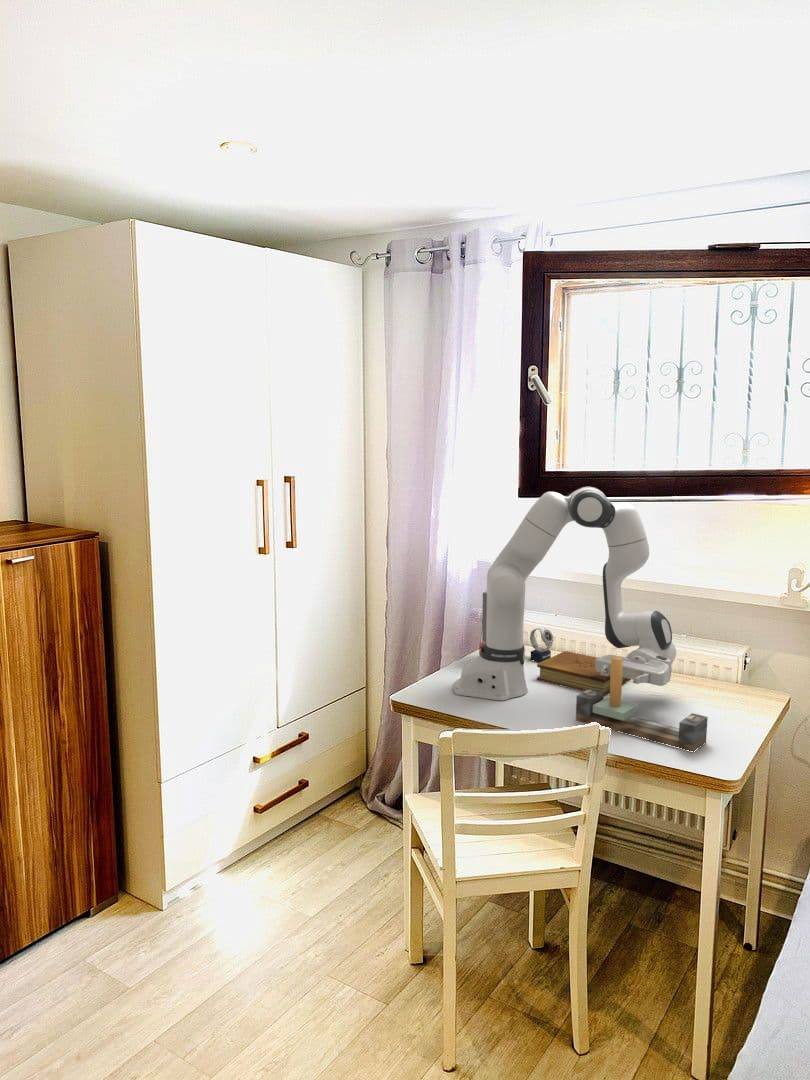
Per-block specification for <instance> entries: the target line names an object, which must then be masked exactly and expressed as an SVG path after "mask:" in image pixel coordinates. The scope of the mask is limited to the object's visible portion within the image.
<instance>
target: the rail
mask: <svg viewBox="0 0 810 1080" xmlns="http://www.w3.org/2000/svg"><path fill="white" fill-rule="evenodd" d="M604 697H605V696H604V691H601V690H597V689H592V688H590V689H588V690H586V691H582V692H581V693H579V694H577V695H576V702H575V704H576V705H575V721H577V722H581V723H584V724H588V723H591V722H597V723H599V724H600V725H601V726H605V727H609V728H611V729H612V730H611V731H613V730H614V731H613V732H617V731H620V732H623V733H622V734H624V733H627V734H631V735H635V736H638V737H641V738H640V739H642V737H643V738H646V739H649V740H652V741H656V742H660V743H664V744H668V745H671V746H675V747H679V748H682V749H685V750H689V751H693V752H694V751H695V750H696V749H697V748H699V747H700V746H702V745H703V744H704V743H705V744H707V734H708V718H709V717H708V716H705V715H701V714H698V713H693V712H692V713H690V714H689V715H688V716H686V717H684V718H683V719H682V720H680V721H679V723H678V726H679V727H675V726H672V725H668V724H664V723H660V722H658V721H657V722H656V721H652V720H649V719H645V718H641V717H637V716H633V715H632V716H630V717H628V718H627V719H625V720H624V721H623V720H619V719H615V718H612V717H608V716H604V715H600V714H597V713H593V705H594V704H596V703H598V702H600V701H601V700H603V699H605V698H604ZM620 732H619V733H620ZM627 734H626V735H627ZM631 735H630V736H631ZM635 736H634V737H635ZM638 737H637V738H638ZM649 740H648V741H649ZM652 741H651V742H652ZM656 742H655V743H656ZM660 743H659V744H660ZM705 744H704V745H705ZM704 745H703V746H704ZM703 746H702V747H703ZM700 748H701V747H700ZM700 748H699V749H700ZM685 750H684V751H685ZM695 752H696V751H695ZM695 752H694V753H695Z"/></svg>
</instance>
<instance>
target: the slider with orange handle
mask: <svg viewBox="0 0 810 1080" xmlns="http://www.w3.org/2000/svg"><path fill="white" fill-rule="evenodd" d="M622 665H623V659H622V658H620V657H612V658H611V676H610V693H609V697H605V698H604V699H603V700H601V701H600V702H598V703H596V704H594V705H593V713H597V714H600V715H604V716H608V717H612V718H615V719H619V720H623V721H624V720H625V719H627V718H628V717H630V716H633V715H635V714H637V713H638V704H636V703H631V702H627V701H623V700H622V689H623V688H622V687H623V685H622Z"/></svg>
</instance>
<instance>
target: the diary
mask: <svg viewBox="0 0 810 1080" xmlns="http://www.w3.org/2000/svg"><path fill="white" fill-rule="evenodd" d="M597 658H598V657H596V656H593V655H592V656H591V655H587V654H582V653H576V652H572V651H567V650H564V651H562V652H560V653H558V654H556V655H554V656H551V658H549V659H547V660H545V661H543V662H541V663H539V662H538V663H537V664H536V667H537V668H539V676H538V677H537V678H536V681H541V682H543V681H544V682H545V683H548V682H549V683H548V684H552V683H553V684H552V685H556V684H557V685H556V686H560V685H562V686H561V687H564V686H566V687H565V688H568V687H569V689H572V688H573V690H577V691H581V692H584V691H586V690H588V689H590V688H592V689H597V690H601V691H604V697H605V696H607V695H608V694H610V676H611V675H610V674H608V676H602V675H601V672H598V671H596V669H595V661H596V659H597ZM629 680H630V681H631V680H632V679H627V678H623V677H622V686H623V685H625V684H627V683H628V682H630V681H629ZM627 681H628V682H627ZM626 682H627V683H626ZM624 683H625V684H624Z"/></svg>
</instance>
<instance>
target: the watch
mask: <svg viewBox="0 0 810 1080" xmlns="http://www.w3.org/2000/svg"><path fill="white" fill-rule="evenodd" d="M536 631H539V633H540V637H541V640H542V642H543V643H544V644H545V646H546V648H542V647H540V646H539V644H538V642H537V639H536V635H535V633H536ZM529 641H530V644H531V646H532V648H533V649H534V650H531V651H530V661H531V660H534V661H533V662H535V661H537V662H536V663H539V662H543V661H545V660H547V659H549V658H551V657H552V656H551V653H552V651H551V648H552V646H553V645H554V644H553V643H554V635H553V633H552V631H550V630H548V629H547V628H545V627H542V626H541V627H540V626H539V627H536V628H534V629H532V630H531V632H530V634H529Z"/></svg>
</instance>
